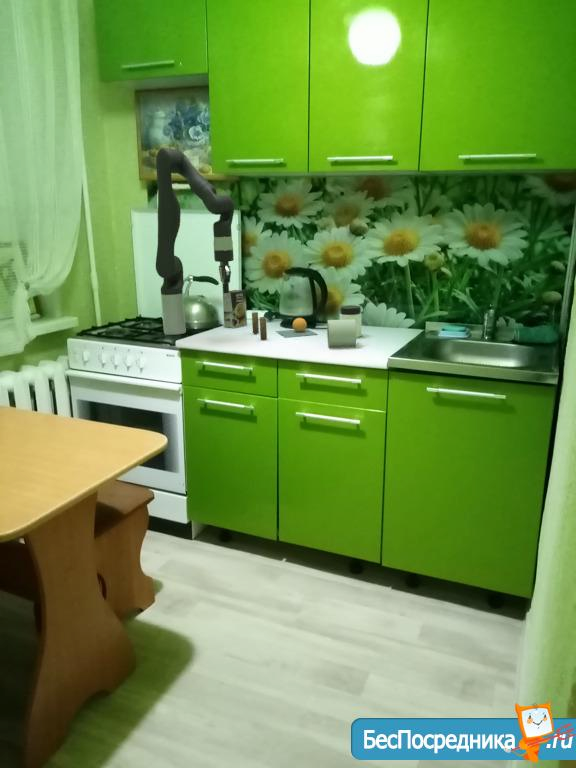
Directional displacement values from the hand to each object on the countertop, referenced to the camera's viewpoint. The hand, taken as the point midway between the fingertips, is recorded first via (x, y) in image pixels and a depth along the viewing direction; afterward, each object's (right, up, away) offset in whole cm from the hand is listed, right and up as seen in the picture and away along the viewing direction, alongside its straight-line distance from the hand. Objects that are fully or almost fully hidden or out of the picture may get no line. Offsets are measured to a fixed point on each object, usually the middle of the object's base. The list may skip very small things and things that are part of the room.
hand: (226, 293), depth 237 cm
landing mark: (+28, -15, +13) cm, 35 cm away
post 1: (+11, -15, +15) cm, 24 cm away
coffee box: (+1, -10, +34) cm, 35 cm away
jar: (+50, -17, +3) cm, 53 cm away
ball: (+30, -11, +14) cm, 35 cm away
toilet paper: (+45, -22, -13) cm, 52 cm away
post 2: (+15, -18, +3) cm, 24 cm away
